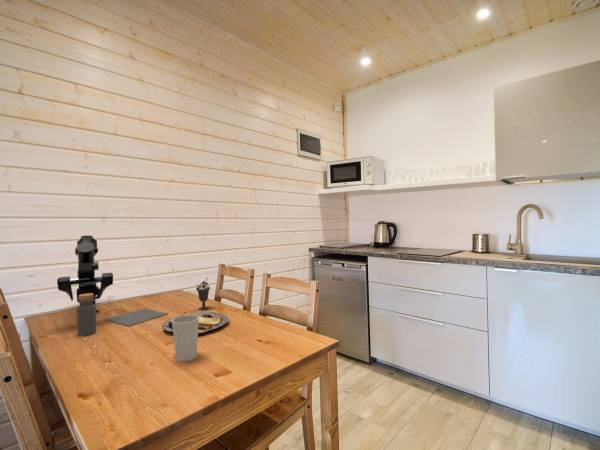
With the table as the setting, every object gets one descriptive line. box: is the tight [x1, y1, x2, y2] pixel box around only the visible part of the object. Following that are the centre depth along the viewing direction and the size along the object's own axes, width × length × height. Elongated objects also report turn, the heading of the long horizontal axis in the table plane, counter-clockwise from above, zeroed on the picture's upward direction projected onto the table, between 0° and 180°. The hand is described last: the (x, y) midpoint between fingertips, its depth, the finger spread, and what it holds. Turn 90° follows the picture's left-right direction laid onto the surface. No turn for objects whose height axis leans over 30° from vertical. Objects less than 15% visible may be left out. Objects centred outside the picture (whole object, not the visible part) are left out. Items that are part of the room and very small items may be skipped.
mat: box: [104, 307, 169, 328], centre depth 135 cm, size 18×18×1 cm
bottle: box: [76, 293, 97, 337], centre depth 116 cm, size 6×6×15 cm
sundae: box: [195, 277, 211, 311], centre depth 146 cm, size 7×7×15 cm
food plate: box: [162, 311, 230, 334], centre depth 123 cm, size 25×23×4 cm
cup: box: [171, 314, 199, 362], centre depth 94 cm, size 8×8×12 cm
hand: (86, 298), depth 121 cm, fingers open, 9 cm apart
